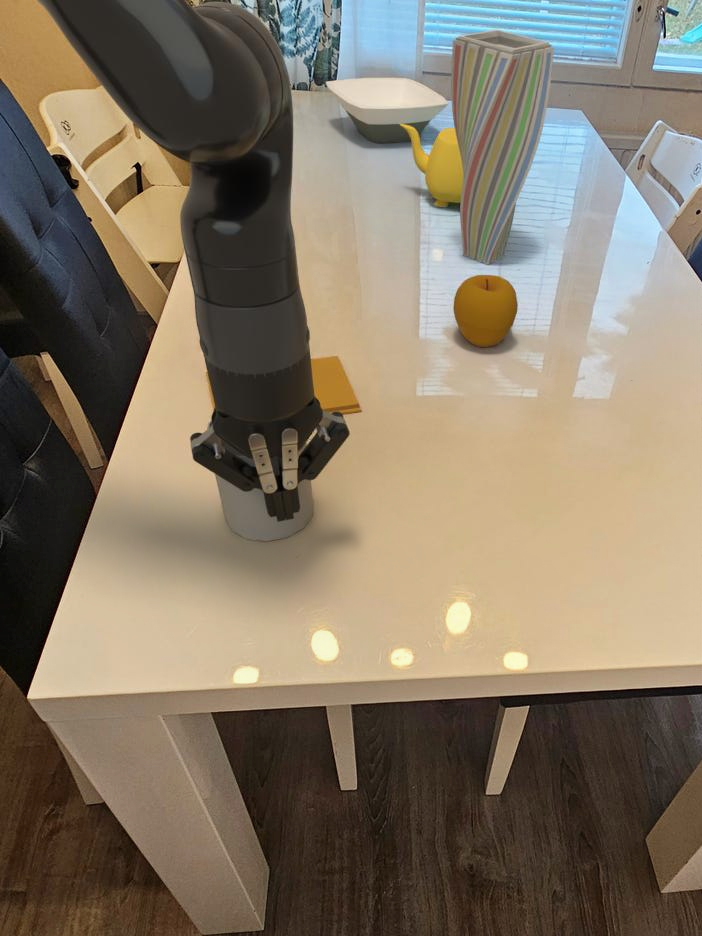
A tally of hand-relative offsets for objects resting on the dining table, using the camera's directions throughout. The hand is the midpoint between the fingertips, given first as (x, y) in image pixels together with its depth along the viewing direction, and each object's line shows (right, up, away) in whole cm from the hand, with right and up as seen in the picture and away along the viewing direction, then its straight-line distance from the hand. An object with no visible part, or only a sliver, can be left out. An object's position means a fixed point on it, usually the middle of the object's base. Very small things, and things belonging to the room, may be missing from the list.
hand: (283, 514), depth 63 cm
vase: (+18, +42, +53) cm, 70 cm away
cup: (-3, 0, +6) cm, 7 cm away
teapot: (+12, +59, +69) cm, 92 cm away
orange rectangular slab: (-6, +14, +20) cm, 26 cm away
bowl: (-3, +84, +93) cm, 126 cm away
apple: (+18, +24, +33) cm, 45 cm away
